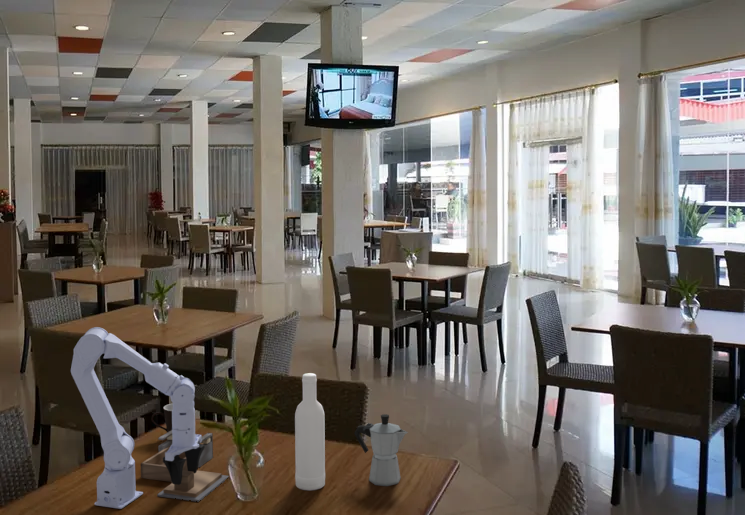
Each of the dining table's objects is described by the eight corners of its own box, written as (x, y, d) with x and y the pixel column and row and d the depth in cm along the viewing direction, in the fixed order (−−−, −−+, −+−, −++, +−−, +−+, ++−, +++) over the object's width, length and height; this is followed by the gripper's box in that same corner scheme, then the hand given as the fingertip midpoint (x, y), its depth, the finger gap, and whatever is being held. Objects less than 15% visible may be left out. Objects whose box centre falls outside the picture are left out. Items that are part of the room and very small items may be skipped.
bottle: (331, 483, 195) (330, 373, 192) (313, 493, 188) (312, 380, 185) (307, 476, 199) (306, 369, 196) (289, 486, 193) (287, 375, 190)
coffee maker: (411, 475, 200) (411, 412, 198) (403, 488, 191) (404, 422, 190) (359, 470, 204) (359, 407, 202) (349, 482, 195) (349, 417, 194)
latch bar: (206, 443, 209) (206, 439, 209) (167, 439, 213) (167, 435, 213) (210, 441, 211) (210, 437, 211) (171, 437, 215) (171, 433, 215)
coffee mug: (196, 433, 234) (195, 403, 233) (186, 442, 226) (186, 411, 225) (161, 432, 235) (160, 401, 234) (150, 441, 227) (149, 410, 226)
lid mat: (199, 501, 183) (199, 499, 183) (157, 496, 187) (157, 494, 186) (229, 477, 198) (229, 475, 198) (190, 472, 202) (190, 470, 202)
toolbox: (178, 482, 195) (177, 456, 194) (136, 477, 199) (135, 451, 198) (213, 457, 213) (212, 433, 212) (174, 452, 217) (173, 429, 216)
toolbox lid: (195, 497, 185) (195, 478, 184) (163, 493, 187) (163, 474, 187) (221, 477, 198) (221, 459, 197) (191, 473, 200) (190, 455, 200)
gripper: (182, 437, 178) (183, 491, 180) (211, 419, 192) (212, 469, 194) (157, 434, 180) (158, 487, 182) (188, 417, 194) (188, 466, 196)
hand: (184, 478), depth 188 cm, fingers open, 7 cm apart
